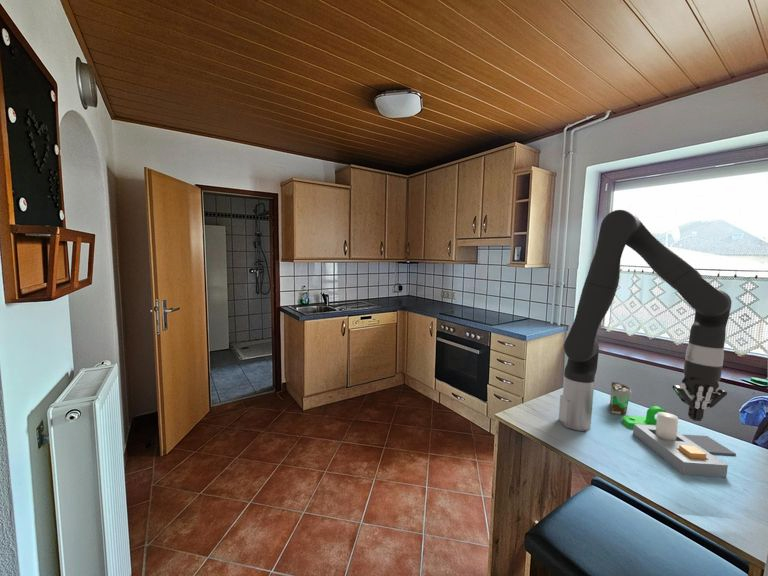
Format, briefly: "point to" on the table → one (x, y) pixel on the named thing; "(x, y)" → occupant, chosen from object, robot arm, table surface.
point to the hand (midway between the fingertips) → (694, 419)
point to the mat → (709, 445)
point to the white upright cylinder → (666, 426)
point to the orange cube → (692, 452)
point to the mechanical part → (643, 418)
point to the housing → (680, 453)
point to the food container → (619, 398)
